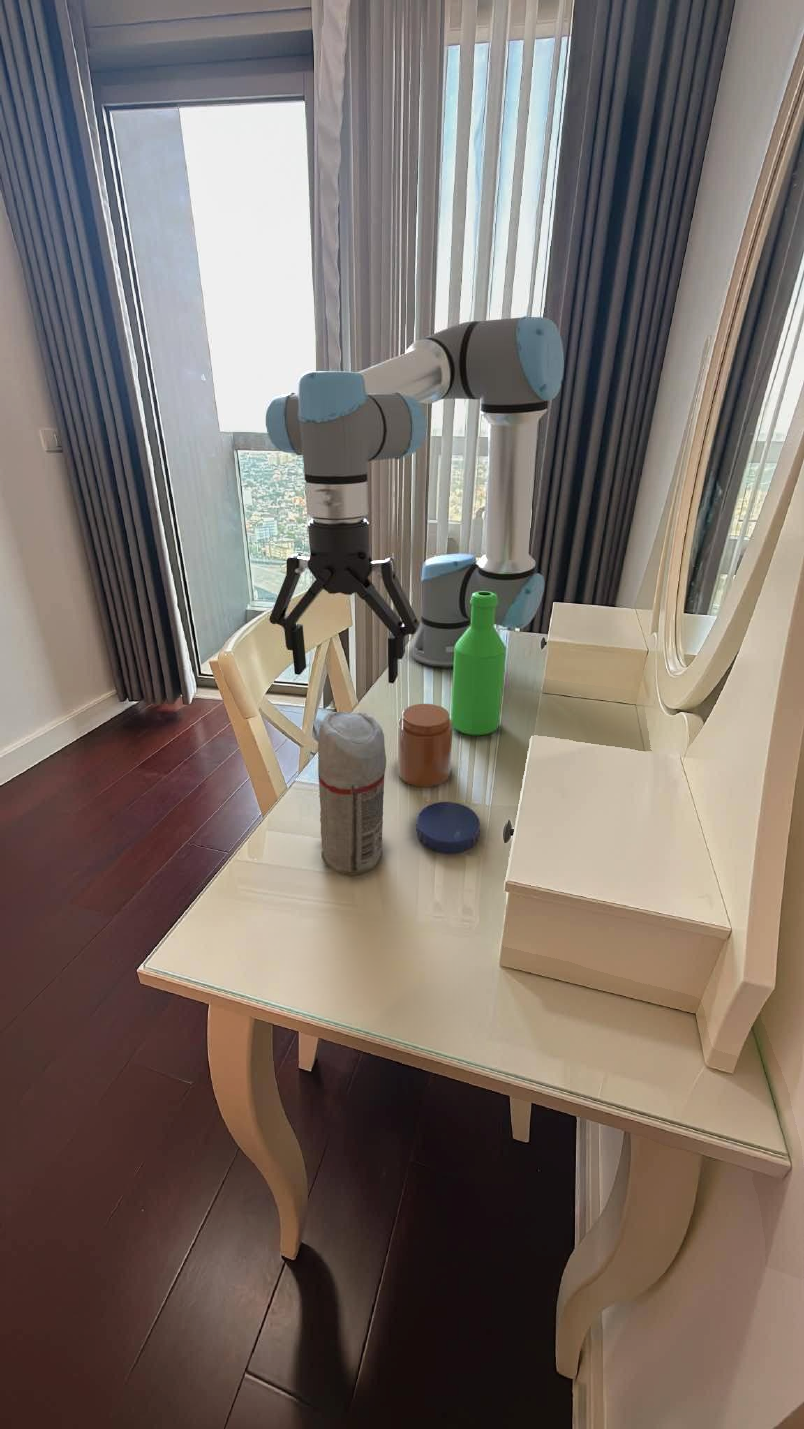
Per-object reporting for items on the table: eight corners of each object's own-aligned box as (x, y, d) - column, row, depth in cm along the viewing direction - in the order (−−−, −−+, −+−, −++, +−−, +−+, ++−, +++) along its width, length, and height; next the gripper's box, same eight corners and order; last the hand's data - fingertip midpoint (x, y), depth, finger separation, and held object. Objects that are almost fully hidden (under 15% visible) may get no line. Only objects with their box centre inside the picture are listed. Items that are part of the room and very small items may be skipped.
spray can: (357, 824, 80) (351, 698, 70) (397, 853, 75) (398, 721, 65) (308, 853, 74) (295, 721, 65) (348, 886, 69) (340, 749, 60)
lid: (457, 863, 73) (458, 851, 72) (403, 835, 78) (403, 824, 77) (490, 827, 79) (491, 817, 78) (439, 804, 84) (439, 794, 83)
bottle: (497, 716, 107) (510, 587, 95) (499, 739, 100) (514, 602, 88) (450, 713, 108) (457, 585, 96) (449, 737, 101) (457, 600, 88)
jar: (406, 754, 96) (407, 698, 91) (455, 762, 93) (458, 706, 88) (391, 781, 89) (390, 723, 83) (443, 791, 86) (446, 732, 81)
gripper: (230, 519, 68) (252, 678, 79) (433, 528, 64) (429, 694, 74) (256, 509, 75) (273, 657, 85) (442, 516, 70) (437, 671, 81)
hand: (346, 675), depth 80 cm, fingers open, 13 cm apart
